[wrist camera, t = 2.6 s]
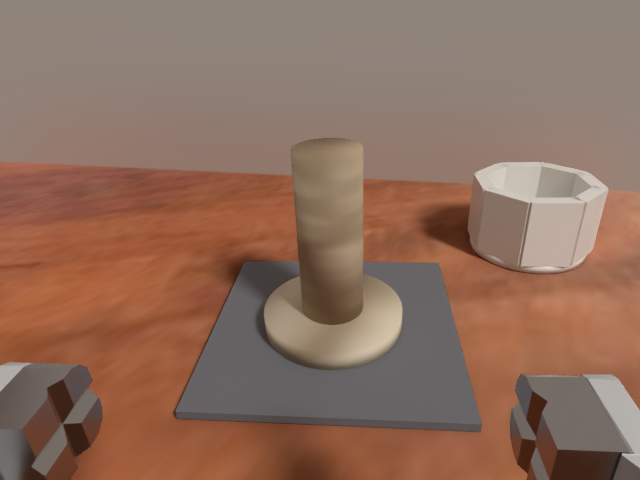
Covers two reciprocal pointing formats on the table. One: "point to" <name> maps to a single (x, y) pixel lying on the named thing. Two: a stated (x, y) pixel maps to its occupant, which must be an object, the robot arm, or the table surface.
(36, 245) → the table surface
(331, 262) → the beige peg with base
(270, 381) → the mat
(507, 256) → the white octagonal collar
